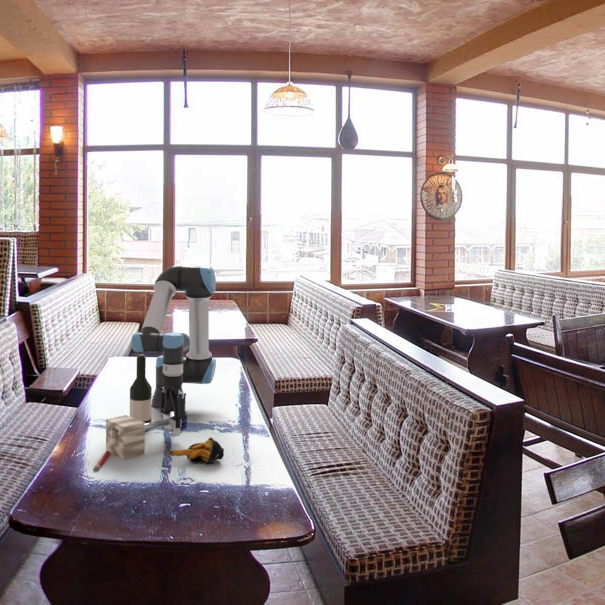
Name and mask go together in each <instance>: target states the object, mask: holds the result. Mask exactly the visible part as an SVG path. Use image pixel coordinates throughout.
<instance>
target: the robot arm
mask: <svg viewBox="0 0 605 605" xmlns="http://www.w3.org/2000/svg"><path fill="white" fill-rule="evenodd" d="M216 289H217V281H216V273H215V270H214V269H213V267H211V266H208V265H200V264H174V265H171V266H169V267H168V268H166V269H164V270H163V271H162V272H161V273H160V274H159V275H158V277H157V278H156V280H155V282H154V284H153V290H154V291H153V295H152V298H151V301H150V304H149V307H148V310H147V312H146V316H145V318H144V321H143V324H142V327H141V330H140V331H139V332H134V333H133V334H132V336H131V341H130V345H131V348H132V351H134V352H136V353H137V352H138V353H139V352H140V353H142V354H144V353H154V354H156V353H157V354H162V355H159V356H157V357H156V363H155V390H154V393H153V396H152V397H151V407H153V408H157V409H159V413H160V414H162V415H163V414H165V413H170V412H171V409H173V412H174V417H175V419H173V429H172V430H169V429H167V428H164V427H163V434H169V433H171V432H172V437H173V438H176V437H179V436H181V428H182V420H183V419H185V418H186V396H187V393H186V392H184V390H183V384H197V385H198V384H199V385H209V384H211V383H212V381H213V379H214V377H215V371H216V366H217V359H216V358H214V357H213V354H212V352H211V351H210V350H209V349H210V348H209V347H210V346H209V344H210V342H209V341H210V339H209V334H210V333H209V332H210V330H209V329H210V328H209V325H210V324H209V315H210V314H209V311H210V310H209V306H210V305H209V303H210V302H209V301H210V299H211V298H212V297H213V294H214V293H215V292H216ZM177 292H183V293H184V294H185V295H184V296H185V298H186V299H187V301H188V334H189V335H188V334H186V333H184V332H166V333H162V329H163V327H164V323H165V320H166V316H167V314H168V311H169V308H170V305H171V301H172V297H174V296H175V295H176V293H177ZM186 352H187V353H186ZM184 353H186V354H185V356H184ZM177 416H178V417H177ZM181 419H182V420H181Z"/></svg>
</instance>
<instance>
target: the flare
mask: <svg viewBox="0 0 605 605" xmlns="http://www.w3.org/2000/svg"><path fill="white" fill-rule="evenodd" d="M110 455H111V453H110V451H106V452H105V453H104V454H103V455H102V456H101V458H100V459H99V461H98V462H97V464H95V466H94V467H93V471H94V472H98V471H99V470H100V469H101V467H102V466H103V465H104V463H105V462H106V461H107V459H108V458H109V456H110Z"/></svg>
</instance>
